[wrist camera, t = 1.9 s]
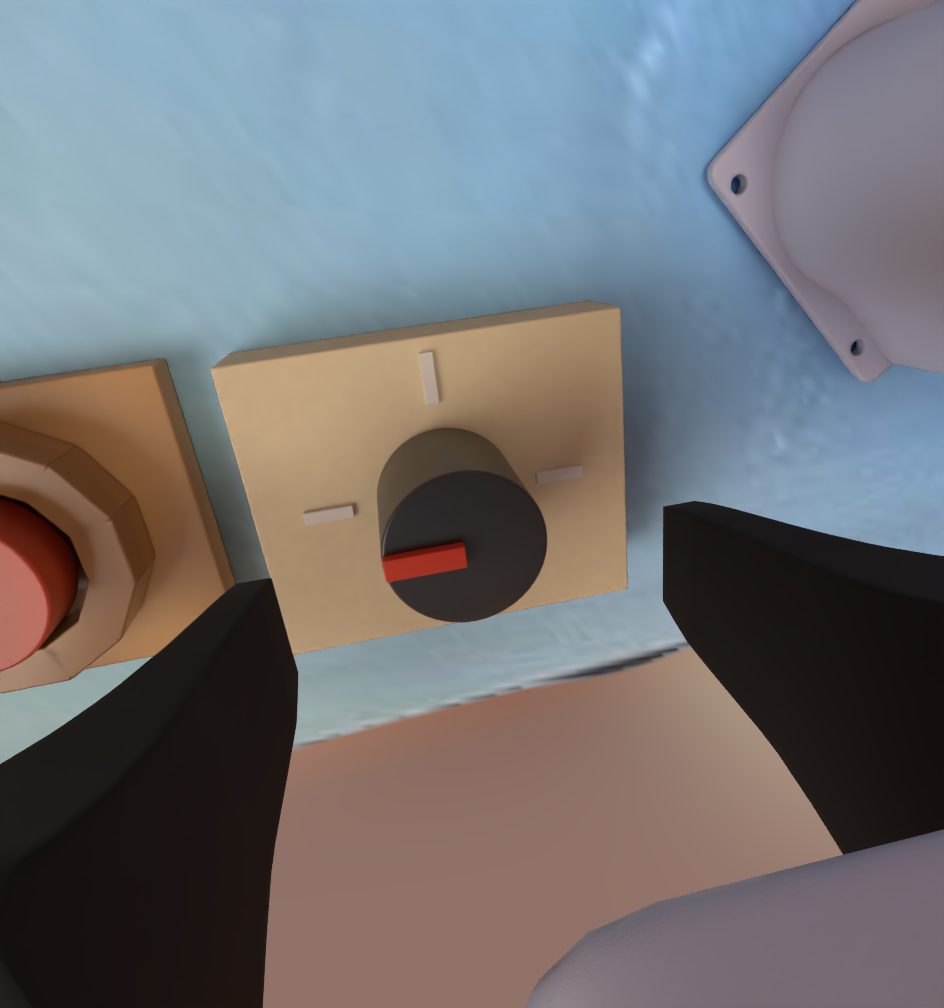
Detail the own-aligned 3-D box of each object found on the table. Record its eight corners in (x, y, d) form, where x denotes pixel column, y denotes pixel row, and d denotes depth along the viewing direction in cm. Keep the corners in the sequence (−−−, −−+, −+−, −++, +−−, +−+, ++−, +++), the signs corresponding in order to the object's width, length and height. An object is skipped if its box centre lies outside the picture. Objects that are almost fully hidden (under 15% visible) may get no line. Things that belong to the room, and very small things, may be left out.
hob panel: (590, 299, 19) (623, 306, 17) (601, 555, 23) (630, 591, 20) (228, 353, 18) (208, 369, 16) (299, 613, 22) (291, 659, 19)
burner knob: (506, 416, 18) (545, 461, 14) (519, 542, 19) (557, 613, 15) (364, 439, 17) (366, 492, 13) (389, 566, 19) (397, 645, 15)
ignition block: (165, 357, 18) (129, 377, 15) (247, 619, 21) (231, 674, 19) (-236, 415, 17) (-351, 448, 14) (-79, 682, 20) (-148, 749, 18)
